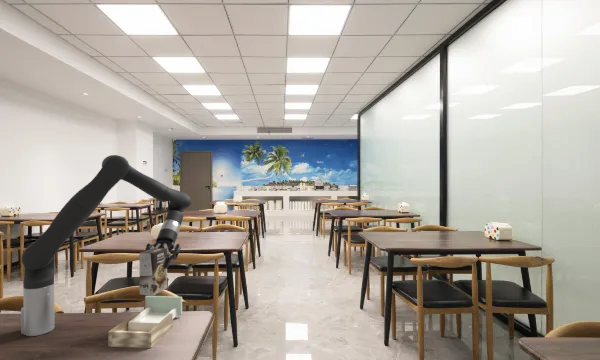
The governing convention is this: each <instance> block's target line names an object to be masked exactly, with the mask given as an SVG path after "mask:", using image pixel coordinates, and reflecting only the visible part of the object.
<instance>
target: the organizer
mask: <svg viewBox="0 0 600 360" xmlns="http://www.w3.org/2000/svg"><path fill="white" fill-rule="evenodd" d="M138 314H139V313H138V312H133V313H132V314H131V315H129V316H128V317H126V318H125V319H123V320H122V321H121V322H120V323H118V324H117V325H115V326H114V327H113V328H112V329H110V330H108V331H107V337H108V339H107V345H108V346H107V347H114V348H115V347H116V348H138V349H139V348H143V349H144V348H145V349H152V348H153V346H155V345H156V344H157V343H158V342H159V341H160V340H161V339H162V338H163V336H165V335H166V334H167V332H169V331H170V330H171V328H173V322H174V321H173V320H174V319H173V314H170V313H169V314H168V315H167V316H166V317H165V318H164V319H163V320H162V321H161V322H160V323H159V324H157V325H156V326H155V327H154V328H153V329H152V330H151V331H128V322H129V321H131V320H132V319H133V318H134V317H136V316H137V315H138Z"/></svg>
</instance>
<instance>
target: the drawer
mask: <svg viewBox="0 0 600 360" xmlns="http://www.w3.org/2000/svg"><path fill="white" fill-rule="evenodd" d="M144 296H145V297H144V299H145V301H144V303H145V304H144V307H145V308H144V310H142V311H141V312H140V313H138V315H137V316H136V317H134V318H133V319H132V320H131V321H129V322H128V331H151V330H152V329H153V328H154V327H155V326H156V325H157V324H159V323H160V322H161V321H162V320H163V319H164V318H165V317H166V316H167V315H168V314H169V313H170V314H173V320H174V319H175V318H176V317H177V316H182V315H183V296H170V295H167V296H166V295H144ZM151 312H158V313H151ZM168 312H169V313H168Z"/></svg>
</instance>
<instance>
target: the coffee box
mask: <svg viewBox="0 0 600 360" xmlns="http://www.w3.org/2000/svg"><path fill="white" fill-rule="evenodd" d="M166 258H167V248H153V249H150V250H147V251H145V250H144V251H141V252H139V295H144V296H156V295H157V294H159V293H161V292H163V291H165V290H166V289H167V288H168V268H167V269H164V267H163V266H164V263H165V260H166Z"/></svg>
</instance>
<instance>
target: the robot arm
mask: <svg viewBox="0 0 600 360" xmlns="http://www.w3.org/2000/svg"><path fill="white" fill-rule="evenodd" d="M120 181H124V182H126V183H129V184H131V185H132V186H134V187H136V188H137V189H139V190H141V191H142V192H144V193H146V194H147V195H148V196H150V197H152V198H154V199H156V200H158V201H159V202H161V203H166V202H169V203H168V206H167V214H166V216H165V219H164V221H163V223H162V225H161V226H160V230H159V232H158V235H157V237H156V241H155V242H154V243H153V244H151V243H147V244H146V246H145V249H144V251H147V250H150V249H153V248H167V258H166V260H165V263H164V266H163V267H164V269H167V270H168V268H169V267H170V265H171V262H172V261H174V260H177V259H178V257H179V253H180V252H181V250H182V249H181V248H182V246H181V245H180V243H177V244H176V242H177V239H178V236H179V234H180V230H181V229H180V228H181V226H182V223H183V218H184V215H183V213H182V212H183V211H184V210H186V209H188V208H189V207H190V206H191V204H192V199H191V197H190V196H189V195H188V194H187V193H185V192H184V191H180V190H178V189H174V188H170V187H169V186H167V185H165V184H164V183H162V182H160V181H158V180H156V179H154V178H152V177H150V176H148V175H146V174H144V173H142V172H140V171H139V170H137V169H136V168H134V167H133V166H131V164H130V163H129V160H127V159H126V158H125V157H123V156H120V155H117V154H111V155H108V156H106V157H105V158H104V159H103V160H102V162H101V169H100V170H99V171H98V173H97V174H96V175H95V176H94V178H92V180H91V181H90V182H88V183H87V184H86V185H84V187H82V188H81V189H79V190H78V191H77V192H76V193H75V194H74V195H73V196H72V197H71V198H70V199H69V200H68V201H67V202H66V203H65V205H63V207H62V208H61V209H60V211H58V212H57V215H56V216H55V217H54V219H53V220H52V222H51V223H50V225H49V227H48V228H46V229H45V231H44V232H43V233H42V234H41V235H40V236H39V237H38V238H37V239H36V240H35V241H34V242H33V243H31V244H30V245H28V246H27V247H26V249H24V250H23V252H22V254H21V263H22V265H23V266H24V275H23V276H24V277H23V282H22V283H23V285H22V287H23V288H22V290H23V293H22V294H23V300H22V302H23V306H22V307H21V309H20V334H21V335H24V336H25V335H26V337H34V336H35V337H36V336H41V335H44V334H47V333H50V332H52V331H53V330H54V329H55V326H56V325H55V275H56V274H55V272H56V254H57V253H58V250H60V248H61V247H62V246H63V244H64V243H65V242H66V241H67V240H68V239H69V238H70V237H71V236H72V235H73V234H75V232H76V231H77V230H78V229H79V228H80V227H81V226H82V225H83V224H84V223H85V222H86V221H87V220H88V218H89V217H90V216H91V215H92V214H93V213H94V211H95V210H96V209H97V208H98V206H99V205H100V204H101V203H102V201H103V200H104V198H105V197H106V196H107V195H108V193H109V192H110V191H111V190H112V188H114V186H116V185H117V184H118V183H119V182H120ZM172 250H173V253H172V254H171V252H172Z"/></svg>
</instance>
